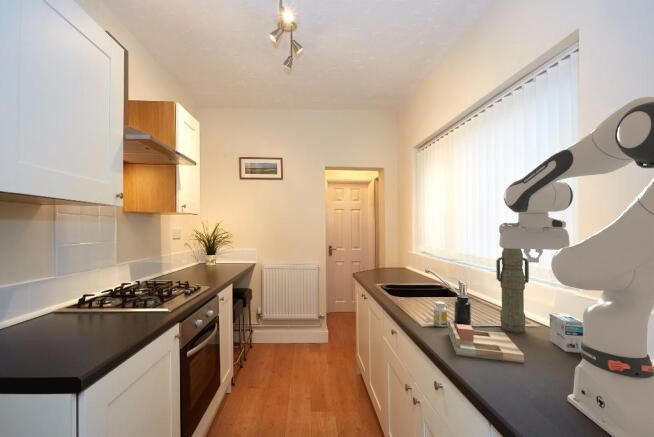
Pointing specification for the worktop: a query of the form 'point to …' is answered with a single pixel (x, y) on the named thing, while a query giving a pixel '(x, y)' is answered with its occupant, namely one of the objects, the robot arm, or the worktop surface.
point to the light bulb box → (566, 332)
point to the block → (465, 332)
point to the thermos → (512, 289)
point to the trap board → (486, 345)
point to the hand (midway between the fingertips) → (533, 262)
